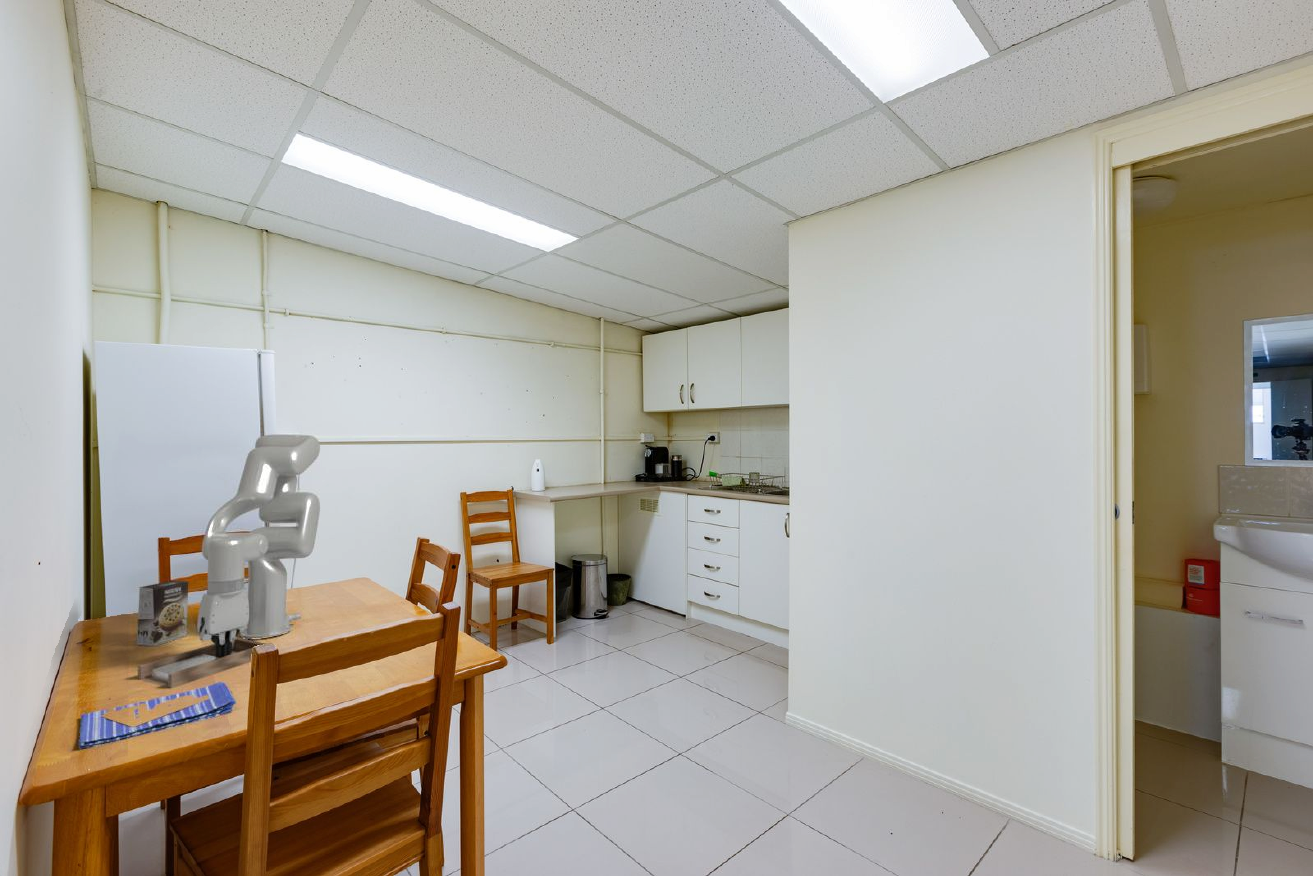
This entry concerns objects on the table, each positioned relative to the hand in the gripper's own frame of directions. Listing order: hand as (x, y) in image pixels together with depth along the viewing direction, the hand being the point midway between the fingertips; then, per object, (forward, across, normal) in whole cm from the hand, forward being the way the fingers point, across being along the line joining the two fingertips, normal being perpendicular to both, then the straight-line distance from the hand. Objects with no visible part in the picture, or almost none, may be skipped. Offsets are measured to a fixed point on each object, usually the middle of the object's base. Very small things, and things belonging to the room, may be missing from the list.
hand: (223, 658), depth 144 cm
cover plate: (+1, +8, 0) cm, 8 cm away
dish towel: (+3, +22, +17) cm, 28 cm away
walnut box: (+2, +4, 0) cm, 4 cm away
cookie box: (+2, -4, -34) cm, 34 cm away
